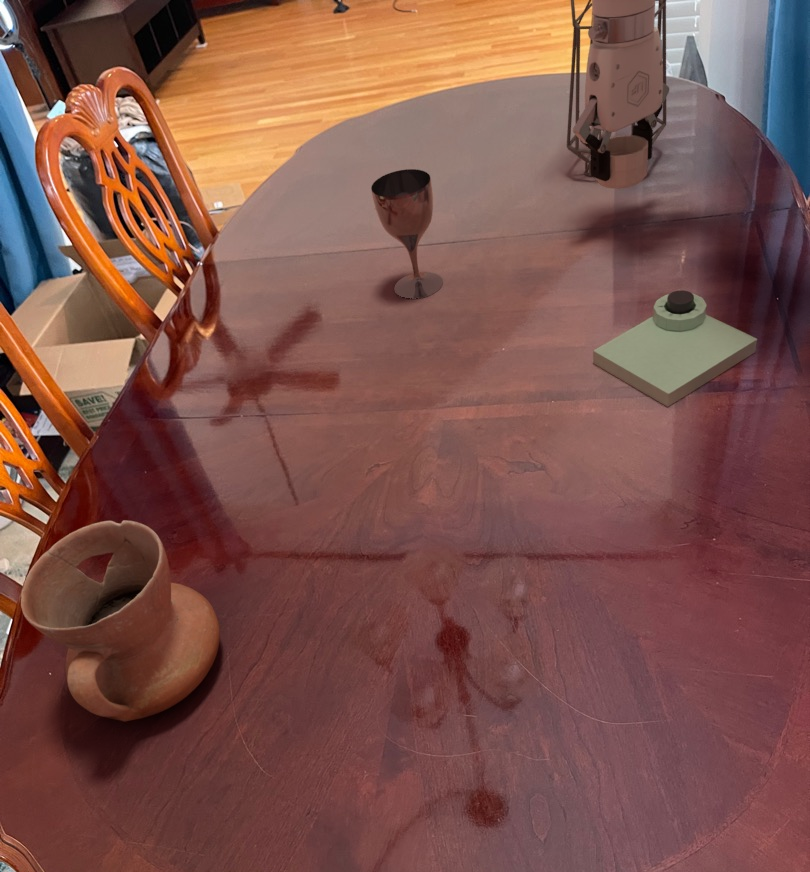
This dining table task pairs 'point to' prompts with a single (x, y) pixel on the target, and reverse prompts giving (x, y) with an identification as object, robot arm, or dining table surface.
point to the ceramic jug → (122, 621)
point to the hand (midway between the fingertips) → (621, 166)
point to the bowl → (626, 161)
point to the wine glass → (407, 223)
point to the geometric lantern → (576, 44)
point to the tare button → (680, 302)
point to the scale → (674, 352)
